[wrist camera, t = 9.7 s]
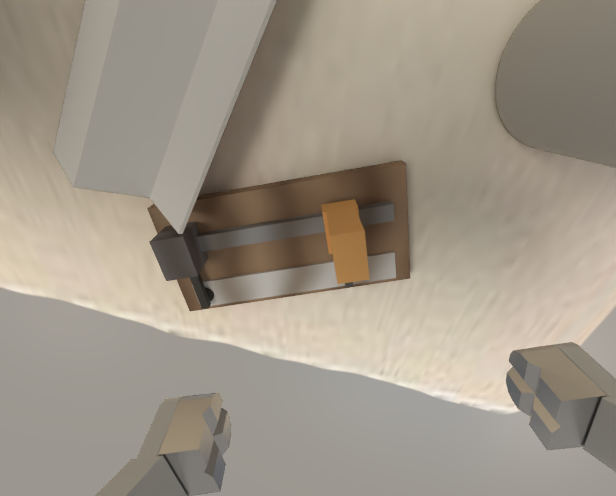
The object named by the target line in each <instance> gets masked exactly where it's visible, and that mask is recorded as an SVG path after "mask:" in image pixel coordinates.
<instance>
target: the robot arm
mask: <svg viewBox="0 0 616 496" xmlns="http://www.w3.org/2000/svg"><path fill="white" fill-rule="evenodd" d="M509 362H510V363H511V364H512V366H513V367H512V368H511V369H510V370H509V371H508V372H507V377H506V384H507V388H508V392H509V394H510V396H511V398H512V400H513V402H514V403H515V405H516V406H517V408H518V409H519V410H521V411H523V412H524V413H526V414H527V415H529V416H530V421H529V425H530V427H531V428H532V429H533V431H534V432H535V434H536V435H537V436H538V438H539V439H540V441H541V442H542V444H543V445H544V447H545V448H546V449H547V450H555V449H565V448H575V447H583V449H584V450H585V451H587V452H589V453H590V454H591V455H592V456H594V457H595V458H597V459H598V460H599V461H601V462H602V463H604V464H605V465H606V466H608V467H609V468H611V469H612V470H613V471H615V472H616V379H615V378H614V377H613V376H612V375H611V374H610V373H609V372H608V371H606V370H605V369H604V368H603V367H602V366H601V365H600V364H598V362H596V361H595V360H594V359H593V358H592V357H591V356H590V355H589V354H588V353H587V352H585V351H584V350H583V349H582V348H581V347H580V346H579V345H577V344H575V343H573V342H569V343H562V344H555V345H546V346H540V347H533V348H527V349H520V350H514V351H513V352H512V353H511V354H510V358H509ZM222 402H223V400H222V398H221V396H220V394H219V393H211V394H201V395H192V396H183V397H177V398H168V399H165V400H164V401H163V402H162V403H161V404H160V406H159V408H158V411H157V413H156V415H155V418H154V420H153V422H152V424H151V427H150V429H149V431H148V434H147V436H146V438H145V440H144V443H143V445H142V447H141V450H140V452H139V454H138V456H137V459H131V460H130V461H129V462H128V463H127V464H126V465H125V466H124V467H123V468H122V469H121V470H120V471H119V472H118V473H117V474H116V475H115V476H114V477H113V478H112V479H111V480H110V481H109V482H108V483H107V484H106V485H105V486H104V487H103V488H102V489H101V490H100V491H99V492H98V493H97V494H96V495H95V496H194V495H200V494H207V493H213V492H219V491H221V485H222V480H223V475H224V470H225V465H226V464H225V461H224V459H223V457H222V455H223V454H224V453H225V452H226V450H227V449H228V448H229V444H230V438H231V422H230V417H229V414H228V412H227V411H226V410H224V409H223V408H221V407H222Z"/></svg>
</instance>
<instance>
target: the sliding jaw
mask: <svg viewBox="0 0 616 496" xmlns="http://www.w3.org/2000/svg"><path fill="white" fill-rule="evenodd" d="M321 207H322V214H323V220H324V226H325V232H326V239H327V245H328V251H329V254H333V260H334V266H335V272H336V278H337V284H343V283H345V287H352V286H353V282H356V281H363V280H369V279H370V278H369V268H368V258H367V249H366V239H365V230H364V228H363V226H362V223H361V221H360V219H359V211H358V205H357V203H356V201H355V199H353V200H347V201H341V202H335V203H329V204H323V205H321Z"/></svg>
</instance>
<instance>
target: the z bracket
mask: <svg viewBox="0 0 616 496" xmlns="http://www.w3.org/2000/svg"><path fill="white" fill-rule="evenodd" d="M276 1H277V0H86V1H85V5H84V10H83V15H82V19H81V24H80V29H79V33H78V38H77V43H76V47H75V52H74V57H73V61H72V66H71V71H70V75H69V80H68V85H67V89H66V94H65V99H64V103H63V108H62V113H61V117H60V122H59V127H58V131H57V136H56V141H55V145H54V150H53V153H54V155H55V156H56V158H57V160H58V162H59V163H60V165H61V167H62V169H63V170H64V172H65V174H66V176H67V177H68V179H69V181H70V182H71V184H72V186H73V187H75V188H82V189H89V190H96V191H104V192H111V193H118V194H125V195H133V196H140V197H147V198H150V199H151V200H152V201H153V203H154V204H155V205H156V206H157V208H158V209H159V210H160V211H161V213H162V214H163V215H164V216H165V218H166V219H167V220H168V221H169V223H170V224H171V225H172V226H173V228H174V229H175V230H176V231H177V233H178V234H183V232H184V229H185V227H186V224H187V222H188V219H189V217H190V214H191V212H192V209H193V207H194V204H195V202H196V199H197V197H198V194H199V192H200V189H201V187H202V184H203V182H204V180H205V177H206V175H207V172H208V170H209V167H210V165H211V162H212V160H213V157H214V155H215V152H216V150H217V147H218V145H219V142H220V140H221V137H222V135H223V132H224V130H225V128H226V125H227V123H228V120H229V118H230V115H231V113H232V110H233V108H234V105H235V103H236V100H237V98H238V95H239V93H240V90H241V88H242V85H243V83H244V80H245V78H246V76H247V73H248V71H249V68H250V66H251V63H252V61H253V58H254V56H255V53H256V51H257V48H258V46H259V43H260V41H261V38H262V36H263V33H264V31H265V28H266V26H267V23H268V21H269V19H270V16H271V14H272V11H273V9H274V6H275V4H276Z"/></svg>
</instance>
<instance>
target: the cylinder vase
mask: <svg viewBox="0 0 616 496" xmlns="http://www.w3.org/2000/svg"><path fill="white" fill-rule="evenodd" d="M496 104H497V109H498V112H499V115H500V118H501V120H502V122H503V124H504V126H505V127H506V129H507V130H508V131H509V132H510V133H511V134H512V135H513V136H514V137H515V138H516V139H517V140H519V141H520V142H522V143H524V144H525V145H528V146H530V147H533V148H537V149H541V150H545V151H549V152H553V153H557V154H561V155H565V156H569V157H574V158H578V159H582V160H586V161H590V162H594V163H598V164H602V165H606V166H611V167H615V168H616V0H540V1H539V2H538V3H537V4H536V5H535V6H534V7H533V8H532V9H531V10H530V11H529V12H528V14H527V15H526V16H525V17H524V18H523V20H522V21H521V22H520V24H519V25H518V27H517V28H516V30H515V31H514V33H513V34H512V36H511V38H510V40H509V42H508V44H507V46H506V48H505V50H504V52H503V55H502V58H501V61H500V64H499V68H498V72H497V78H496Z"/></svg>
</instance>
